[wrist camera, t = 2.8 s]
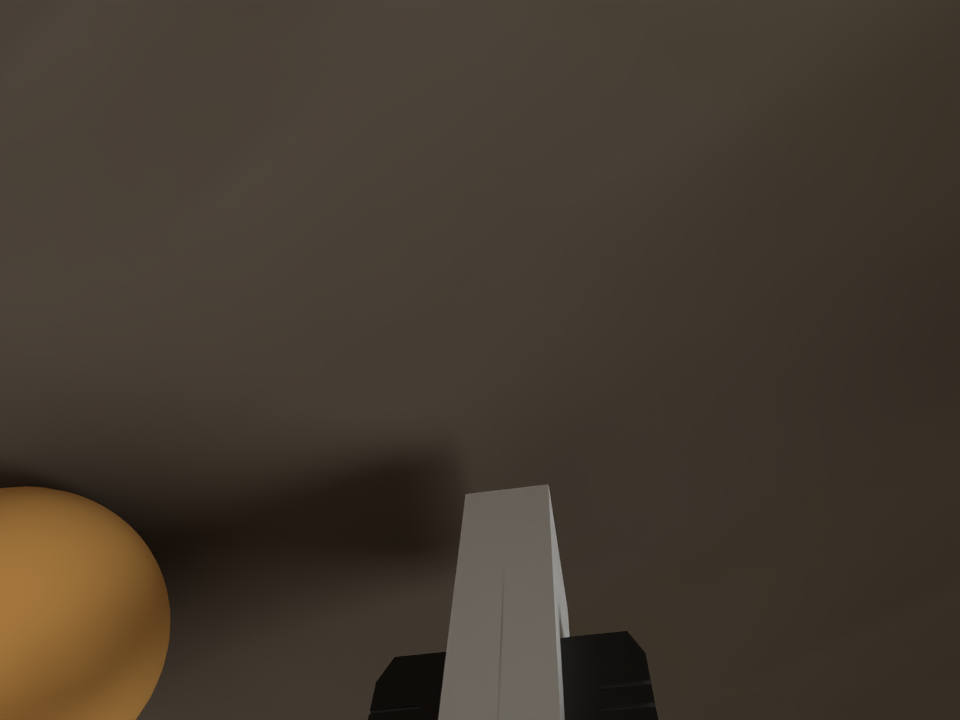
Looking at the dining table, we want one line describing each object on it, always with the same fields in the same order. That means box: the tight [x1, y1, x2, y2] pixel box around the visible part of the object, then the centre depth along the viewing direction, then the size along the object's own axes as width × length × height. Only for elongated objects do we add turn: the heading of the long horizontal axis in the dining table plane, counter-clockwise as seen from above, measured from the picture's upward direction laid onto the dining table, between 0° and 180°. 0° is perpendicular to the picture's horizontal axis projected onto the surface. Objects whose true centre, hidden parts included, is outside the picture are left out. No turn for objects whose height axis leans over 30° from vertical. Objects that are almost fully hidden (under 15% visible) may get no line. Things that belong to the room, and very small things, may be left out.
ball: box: [0, 486, 171, 720], centre depth 17 cm, size 6×6×6 cm
